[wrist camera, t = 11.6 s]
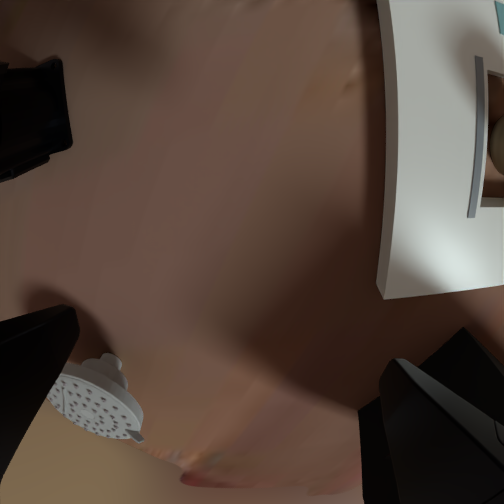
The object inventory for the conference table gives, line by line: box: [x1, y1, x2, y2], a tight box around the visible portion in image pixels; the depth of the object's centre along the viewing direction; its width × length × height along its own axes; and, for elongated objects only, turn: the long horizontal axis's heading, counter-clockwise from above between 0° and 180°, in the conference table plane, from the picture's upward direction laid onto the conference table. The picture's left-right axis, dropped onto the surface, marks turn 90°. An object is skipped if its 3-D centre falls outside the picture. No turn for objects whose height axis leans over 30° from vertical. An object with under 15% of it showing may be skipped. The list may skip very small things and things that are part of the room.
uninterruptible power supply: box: [358, 327, 504, 504], centre depth 22 cm, size 16×34×20 cm, turn 55°
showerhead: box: [47, 353, 144, 443], centre depth 24 cm, size 9×7×10 cm
